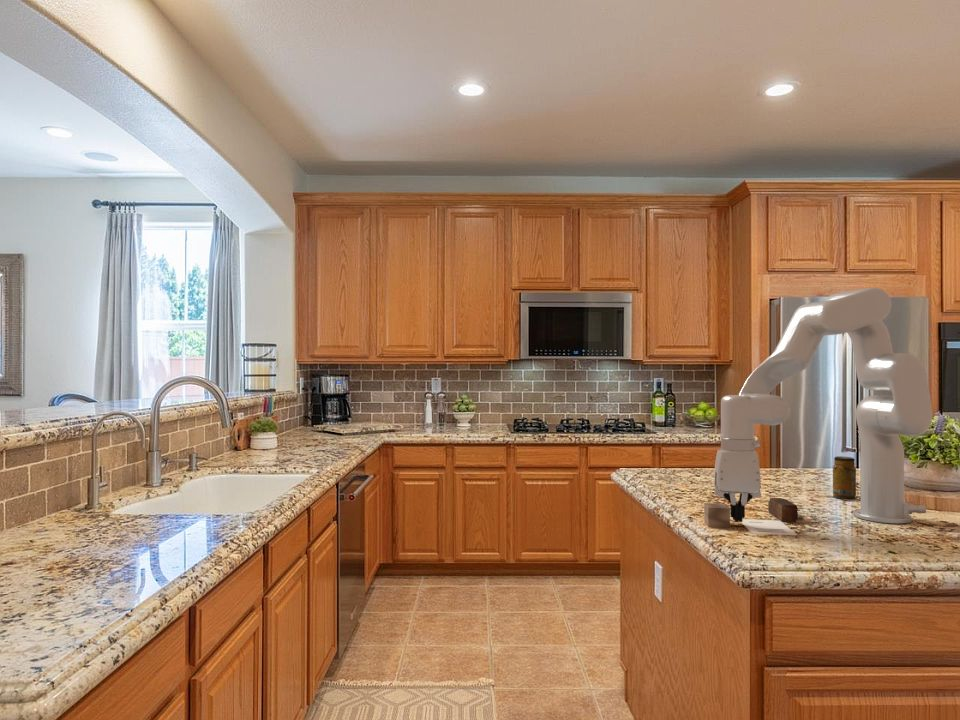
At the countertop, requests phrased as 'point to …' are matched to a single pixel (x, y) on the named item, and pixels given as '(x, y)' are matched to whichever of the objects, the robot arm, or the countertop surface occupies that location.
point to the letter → (767, 527)
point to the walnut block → (716, 515)
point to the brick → (783, 510)
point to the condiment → (844, 479)
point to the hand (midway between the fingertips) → (737, 520)
